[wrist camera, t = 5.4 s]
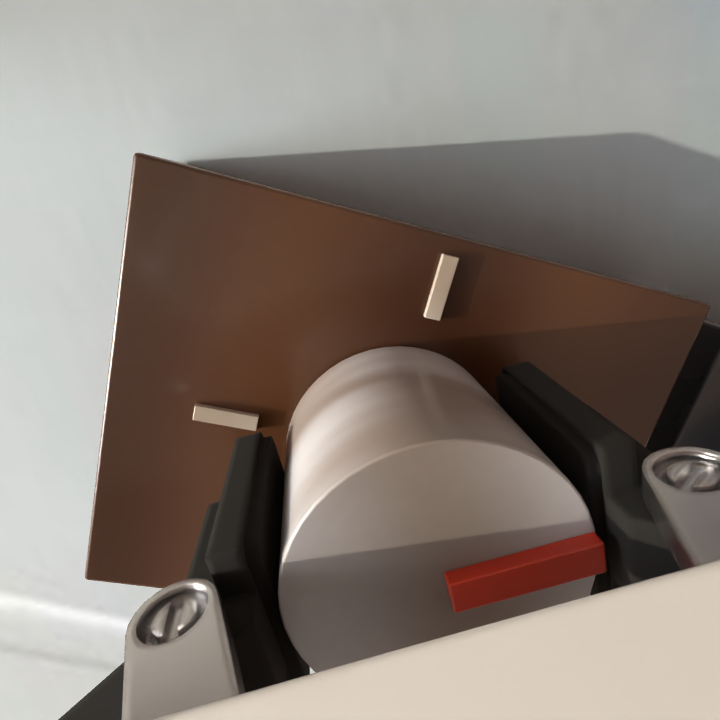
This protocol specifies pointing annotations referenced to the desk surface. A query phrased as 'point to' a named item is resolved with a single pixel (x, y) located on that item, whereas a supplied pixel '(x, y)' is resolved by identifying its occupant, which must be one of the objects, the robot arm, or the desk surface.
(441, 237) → the timer panel
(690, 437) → the box
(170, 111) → the desk surface
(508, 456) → the dial
